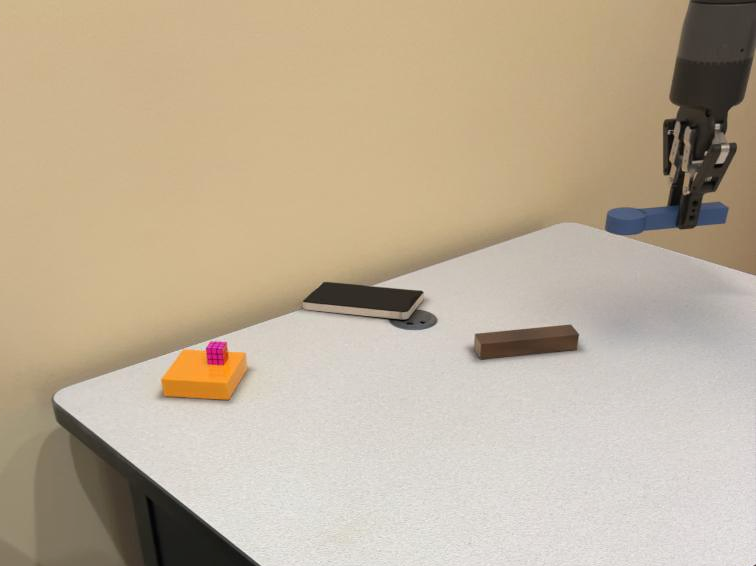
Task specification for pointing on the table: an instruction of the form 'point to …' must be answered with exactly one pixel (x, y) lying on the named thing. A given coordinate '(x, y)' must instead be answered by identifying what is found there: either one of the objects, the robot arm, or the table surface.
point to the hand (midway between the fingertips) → (679, 223)
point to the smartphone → (364, 300)
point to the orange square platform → (205, 373)
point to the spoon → (659, 218)
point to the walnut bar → (526, 341)
